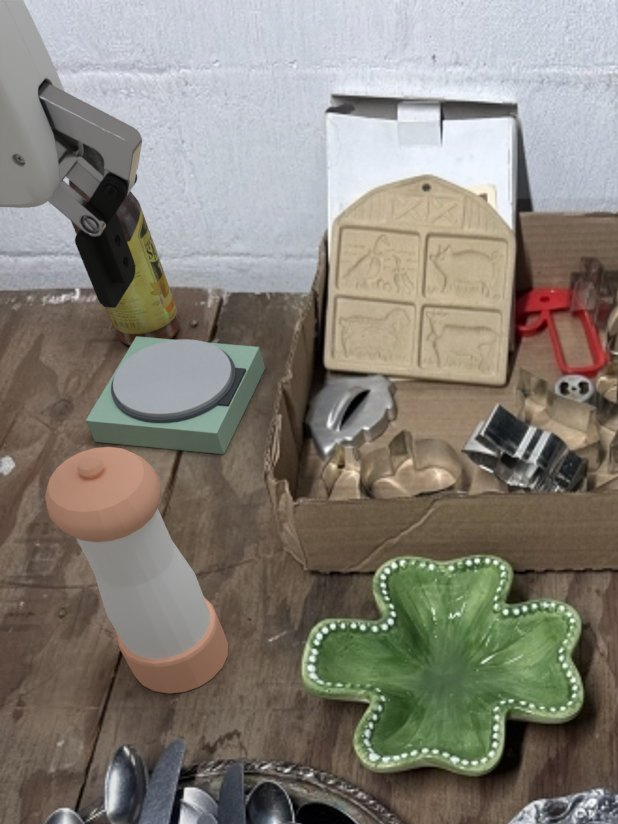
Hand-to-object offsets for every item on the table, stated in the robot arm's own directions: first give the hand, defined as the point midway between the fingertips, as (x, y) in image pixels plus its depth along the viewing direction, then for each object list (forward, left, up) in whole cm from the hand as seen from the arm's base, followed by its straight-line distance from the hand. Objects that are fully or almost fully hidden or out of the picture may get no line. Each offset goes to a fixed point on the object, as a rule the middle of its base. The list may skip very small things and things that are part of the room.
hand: (33, 286), depth 57 cm
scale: (-10, +26, -30) cm, 41 cm away
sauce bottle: (-17, +36, -30) cm, 50 cm away
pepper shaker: (0, -2, -30) cm, 30 cm away
